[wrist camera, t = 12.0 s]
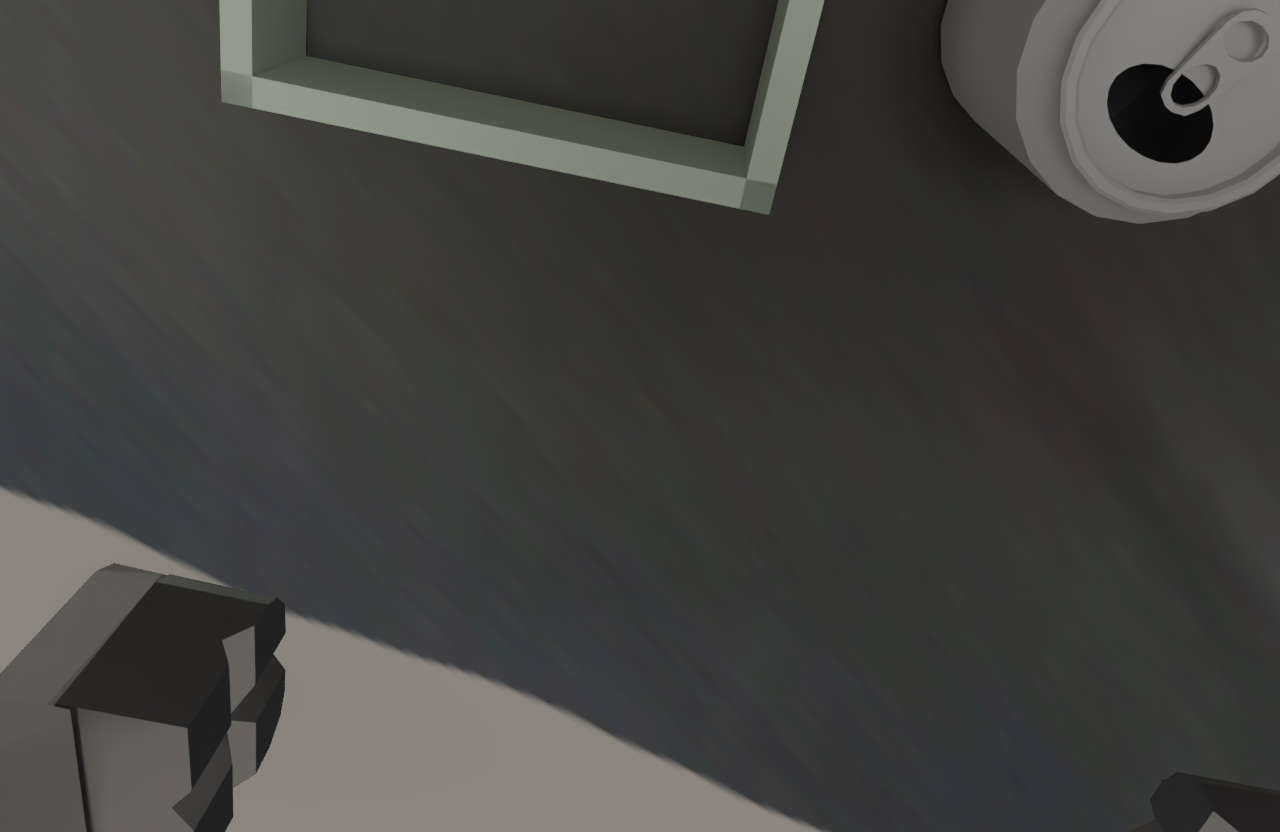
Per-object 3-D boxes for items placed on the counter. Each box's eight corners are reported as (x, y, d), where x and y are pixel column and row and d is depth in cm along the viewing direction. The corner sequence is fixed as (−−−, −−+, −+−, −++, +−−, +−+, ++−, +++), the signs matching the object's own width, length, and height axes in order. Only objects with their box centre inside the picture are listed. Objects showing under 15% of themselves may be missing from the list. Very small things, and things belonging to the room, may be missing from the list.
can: (887, 48, 33) (964, 119, 23) (1055, -159, 30) (1236, -190, 19) (1044, 179, 35) (1185, 302, 24) (1219, -4, 32) (1468, 46, 21)
